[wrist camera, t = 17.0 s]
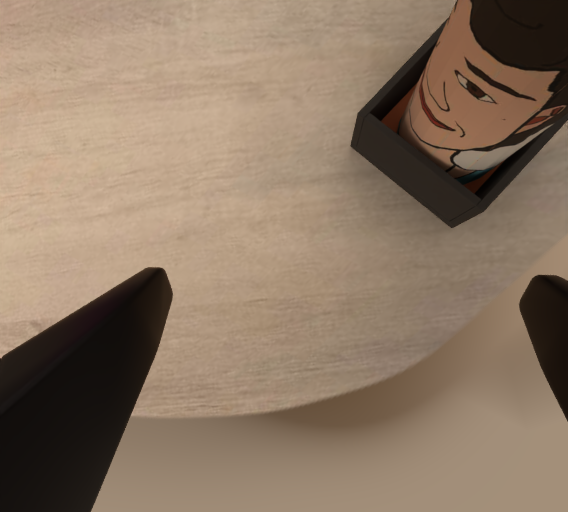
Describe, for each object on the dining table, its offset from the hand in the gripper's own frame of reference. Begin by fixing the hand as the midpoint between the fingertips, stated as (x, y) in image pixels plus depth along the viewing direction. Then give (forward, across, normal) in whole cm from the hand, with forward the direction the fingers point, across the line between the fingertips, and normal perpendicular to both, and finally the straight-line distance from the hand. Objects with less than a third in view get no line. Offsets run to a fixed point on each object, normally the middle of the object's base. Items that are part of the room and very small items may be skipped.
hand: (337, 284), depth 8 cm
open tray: (+17, -8, +2) cm, 19 cm away
